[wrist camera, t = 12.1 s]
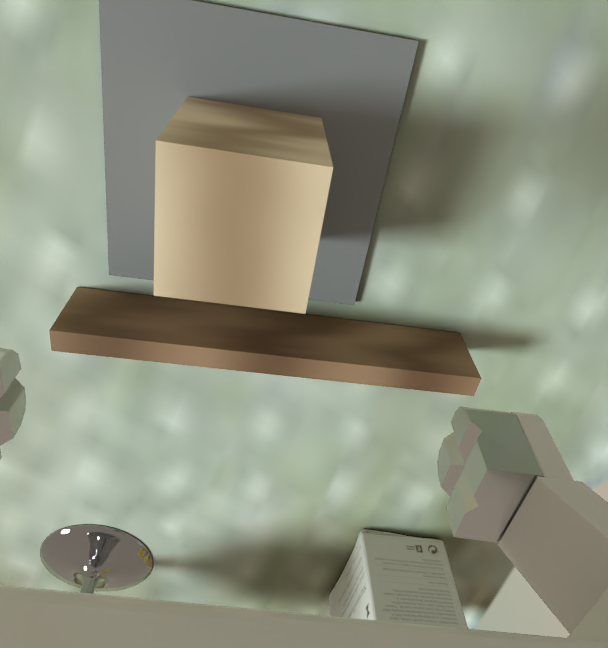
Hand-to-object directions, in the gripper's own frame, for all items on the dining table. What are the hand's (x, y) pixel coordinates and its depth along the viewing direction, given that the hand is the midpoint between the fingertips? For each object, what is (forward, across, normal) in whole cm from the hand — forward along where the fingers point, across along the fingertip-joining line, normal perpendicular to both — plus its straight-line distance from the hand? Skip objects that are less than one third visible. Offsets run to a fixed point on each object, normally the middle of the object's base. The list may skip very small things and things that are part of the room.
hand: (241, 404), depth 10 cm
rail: (+14, -1, +7) cm, 16 cm away
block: (+14, +1, 0) cm, 14 cm away
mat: (+14, +1, 0) cm, 14 cm away
